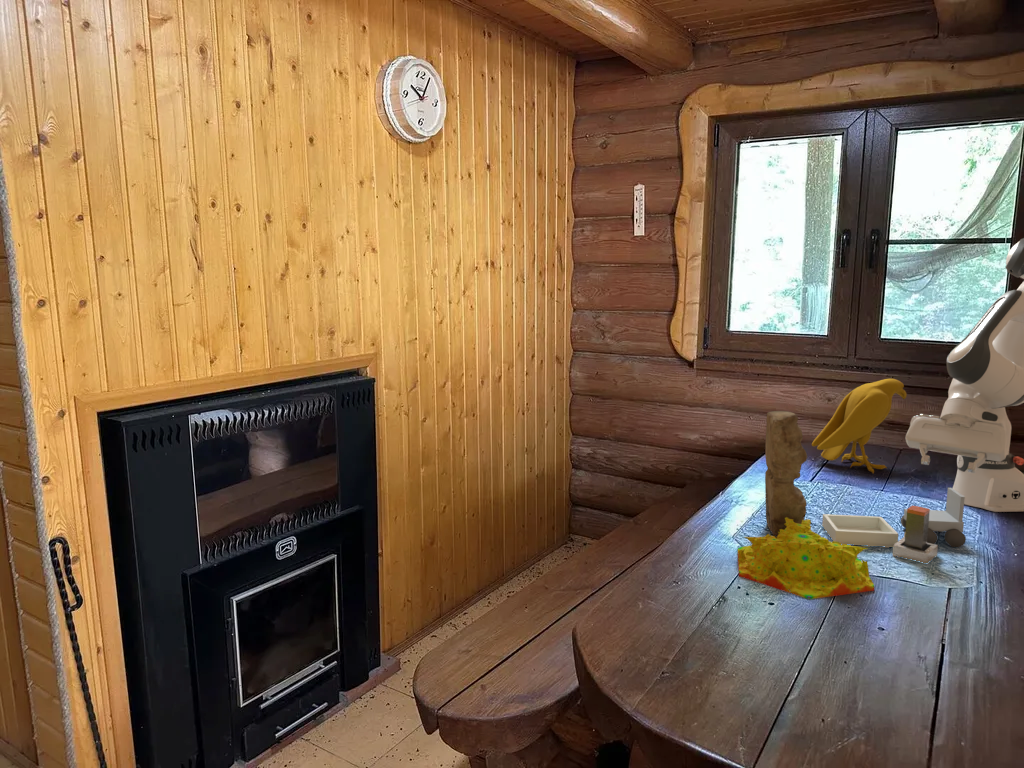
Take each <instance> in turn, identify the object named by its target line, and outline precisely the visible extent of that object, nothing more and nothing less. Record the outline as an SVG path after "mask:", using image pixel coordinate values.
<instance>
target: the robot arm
mask: <svg viewBox="0 0 1024 768" xmlns="http://www.w3.org/2000/svg"><path fill="white" fill-rule="evenodd" d="M1005 269H1006V272H1007V273H1009V274H1010V275H1012V276H1014V277H1015V278H1020V279H1022V280H1024V237H1023V238H1021V239H1020V240H1019V241H1017V243H1015V244H1014V245H1013V246H1012V247H1011V248H1010V249H1009V251H1008V252H1007V256H1006V260H1005ZM946 370H947V373H948V375H949V377H951V378H952V379H951V383H950V385H949V388H948V391H947V393H948V394H947V395H948V398H947V399H946V400H945V402H944V404H943V407H942V410H941V413H940V416H939V415H929V414H926V413H925V414H924V413H919V415H914V416H912V417H911V419H910V423H909V428H908V430H907V432H906V434H905V443H906V444H907V446H908V447H909V448H910V449H911V448H912V449H917V450H919V452H920V455H921V459H920V464H921V465H925V466H929V465H930V462H931V456H930V455H928V454H927V453H928V452H929V451H931V452H934V453H935V452H937V453H942V454H948V455H955V456H957V458H956V467H957V471H956V476H955V479H954V482H953V486H952V488H953V489H954V490H955V491H957V492H958V493H960V494H961V495H963V496H964V497H965V499H964V505H965V506H971V507H974V508H981V509H984V510H987V511H991V512H993V513H994V512H995V513H998V512H999V513H1002V512H1003V513H1005V512H1006V513H1007V512H1010V513H1011V512H1024V472H1022V471H1020V470H1019V469H1018V468H1017V467H1016V465H1018V466H1022V465H1024V458H1022V457H1020V456H1015V455H1014V454H1013V453H1010V445H1011V436H1012V423H1011V421H1010V419H1009V416H1008V415H1007V411H1006V408H1007V407H1014V406H1015V407H1017V406H1019V405H1022V404H1024V281H1022V283H1021V284H1020V285H1019V286H1018V288H1017V289H1013V290H1008V291H1006V292H1004V294H1002V295H1000V296H999V297H998V298H997V299H996V300H995V301H994V302H993V303H992V304H991V305H990V307H988V309H987V310H986V311H985V312H984V314H983V315H982V316H981V318H980V319H979V320H978V321H977V322H976V324H975V325H974V326H973V327H972V328H971V330H970V331H969V332H968V334H967V335H966V336H965V337H964V338H963V339H962V340H961V341H960V342H959V343H958V344H957V345H956V346H955V347H954V348H953V349H952V350H951V351H950V353H949V354H948V355H947V357H946ZM1015 464H1016V465H1015Z"/></svg>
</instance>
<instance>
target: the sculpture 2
mask: <svg viewBox="0 0 1024 768" xmlns="http://www.w3.org/2000/svg"><path fill="white" fill-rule="evenodd" d="M904 387H905V386H904V383H903V382H901V381H900V380H898V379H895V378H884V379H881V380H877V381H873V382H870V383H869V382H868V383H864V384H862V385H860V386H857V387H855V388H854V389H853V390H851V391H850V392H849V393H848V394H846V395H845V396H844V397H843V399H842V401H841V402H840V403H839V404H838V406H837V408H836V410H835V412H834V413H833V416H832V417H831V419H830V420H829V421H828V422H827V424H826V425H825V426H824V427H823V429H821V431H820V432H819V434H818V435H817V436H816V437H815V438H814V440H813V441H812V443H811V446H812V447H816V449H817V450H819V451H822V450H823V451H822V452H821V453H820V456H821V458H823V459H825V460H828V461H835V460H838V459H839V458H840V457H841V455H843V454H844V455H843V456H842V457H841V463H843V461H845V460H851V459H852V458H853V459H855V460H856V461H853V462H852V463H851V465H850V467H849V468H850V469H851V468H852V467H861V466H864V465H865V466H866V468H867V470H868V471H869V472H870V473H872V474H874V473H875V470H883V469H886V470H887V469H888V468H887V467H888V466H886V465H885V464H874V463H871V462H870V461H869V457H868V455H866V451H865V445H866V444H867V443H868V442H869V441H870V439H871V436H872V431H873V430H874V429H875V428H876V427H878V426H879V425H880V424H881V423H883V422H884V421H885V419H886V418H887V416H888V415H889V414H890V411H891V409H892V405H893V402H892V399H893V396H895V394H897V395H898V396H900V397H901V398H902V399H903V400H905V399H906V398H907V395H908V394H907V391H906V390H905V389H904ZM851 443H852V446H851V451H850V453H844V452H845V451H846V449H847V447H848V446H849V445H850V444H851ZM857 443H858V445H859V449H860V450H861V455H857V453H856V450H857ZM857 461H858V462H857Z"/></svg>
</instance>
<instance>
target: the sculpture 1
mask: <svg viewBox="0 0 1024 768" xmlns="http://www.w3.org/2000/svg"><path fill="white" fill-rule="evenodd" d="M765 419H766V424H765V425H766V426H765V427H766V428H765V430H766V431H765V443H764V444H765V446H764V448H765V464H766V467H767V469H766V470H765V473H764V476H765V477H764V484H765V485H764V487H765V490H764V491H765V492H764V493H765V521H766V524H767V526H768V529H769V531H770V532H771V534H772V536H775V537H776V538H777V536H778V534H779V533H778V532H780V530H779V529H783V530H785V529H786V527H787V526H786V525H784V524H785V523H786V520H785V518H786V517H787V518H789V519H793V522H795V523H798V524H801V523H802V520H805V519H806V518H805V517H806V513H807V501H806V497H805V496H804V495H803V490H801V489H800V488H799V487H798V486H796V485H794V484H795V480H797V479H799V478H800V477H801V470H802V465H803V464H804V463H805V462H806V461H807V460H808V455H807V454H808V453H807V452H806V450H805V449H804V447H803V445H802V440H803V438H804V437H803V436H804V435H803V431H802V427H801V426H800V424H798V423H799V422H798V421H799V417H798V415H797V414H796V413H794V412H791V411H788V410H787V411H786V410H776V411H775V410H774V411H773V410H772V411H768V412H767V413H766V418H765Z"/></svg>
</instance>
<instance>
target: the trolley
mask: <svg viewBox="0 0 1024 768" xmlns="http://www.w3.org/2000/svg"><path fill="white" fill-rule="evenodd" d="M946 491H947V492H946V493H947V495H946V505H945V510H940V509H939V510H935V509H930V513H929V525H928V536H927V543H931V544H935V545H936V543H937V541H938V533H942V532H945V533H944V535H943V539H944V541H945V543H946V544H947V545H948V546H950V547H952V548H954V547H958V548H961V547H963V546H964V545H965V543H966V541H967V540H966V539H967V538H966V537H967V536H966V535H965V534H964V524H965V522H964V521H963V518H964V509H965V508H964V507H965V504H964V499H965V497H964V496H963V495H961V494H960V493H958V492H957V491H955V490H954V489H953V487H947V490H946ZM903 509H904V512H903V515H902V516H901V518H900V524H901V526H902V527H903V528H904V529H905V530H906V519H907V509H908V508H903Z"/></svg>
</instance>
